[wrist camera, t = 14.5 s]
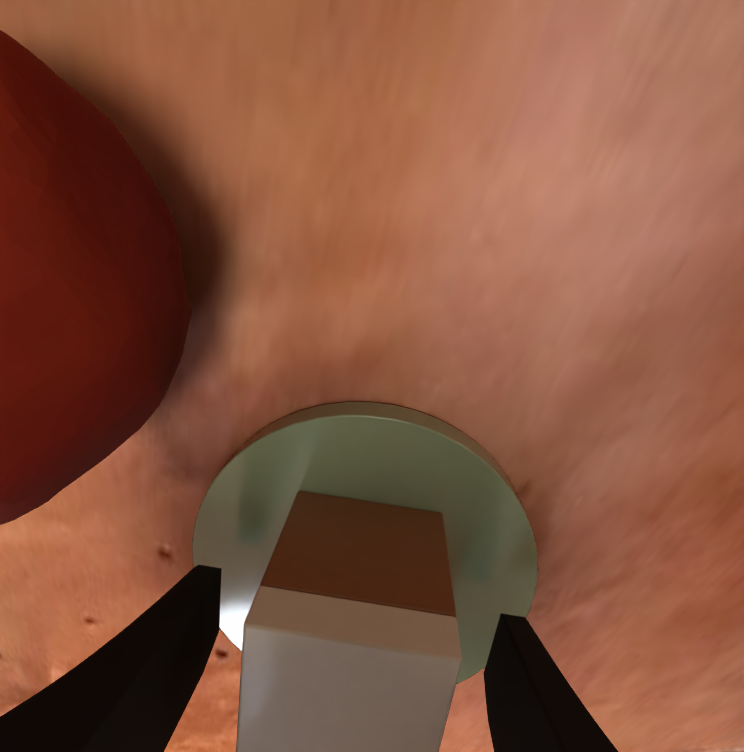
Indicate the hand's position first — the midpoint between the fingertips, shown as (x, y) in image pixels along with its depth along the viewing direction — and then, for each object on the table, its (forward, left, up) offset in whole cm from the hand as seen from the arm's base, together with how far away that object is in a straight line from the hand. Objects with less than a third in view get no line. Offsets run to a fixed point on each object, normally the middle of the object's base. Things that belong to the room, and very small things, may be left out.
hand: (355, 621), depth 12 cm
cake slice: (0, 0, -2) cm, 2 cm away
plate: (0, 0, -3) cm, 3 cm away
